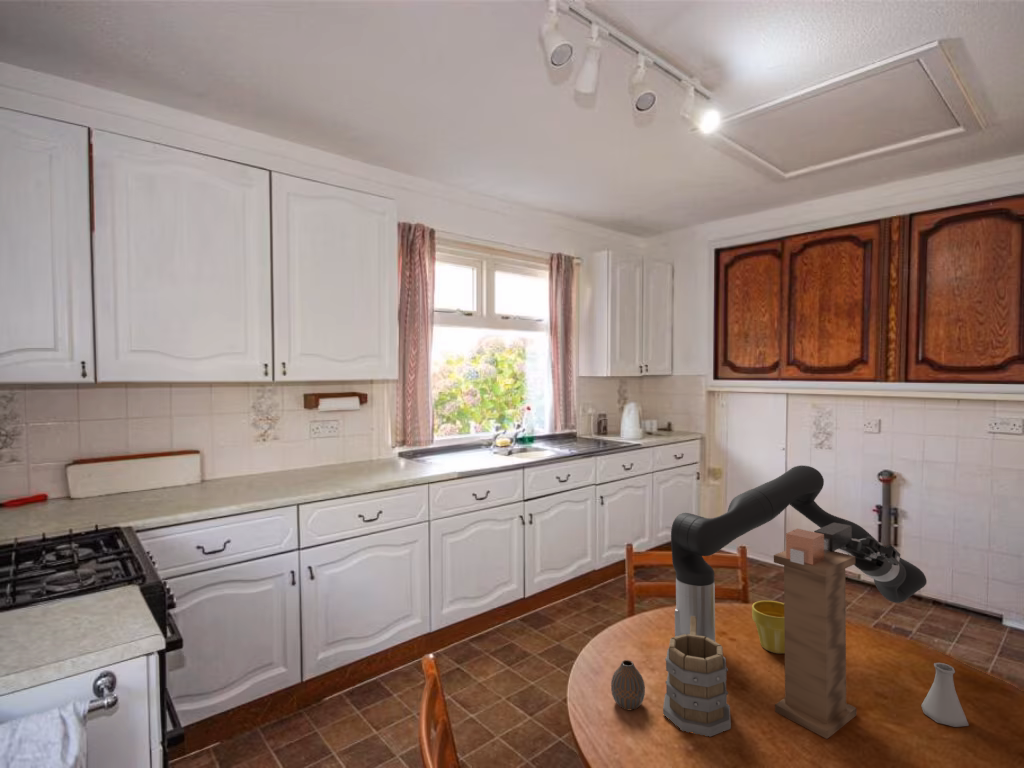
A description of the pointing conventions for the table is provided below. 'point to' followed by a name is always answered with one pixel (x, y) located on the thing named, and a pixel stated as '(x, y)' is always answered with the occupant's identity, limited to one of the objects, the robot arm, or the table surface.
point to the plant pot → (770, 625)
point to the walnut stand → (815, 643)
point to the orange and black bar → (816, 543)
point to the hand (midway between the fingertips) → (845, 536)
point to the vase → (627, 686)
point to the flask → (944, 699)
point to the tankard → (696, 684)
